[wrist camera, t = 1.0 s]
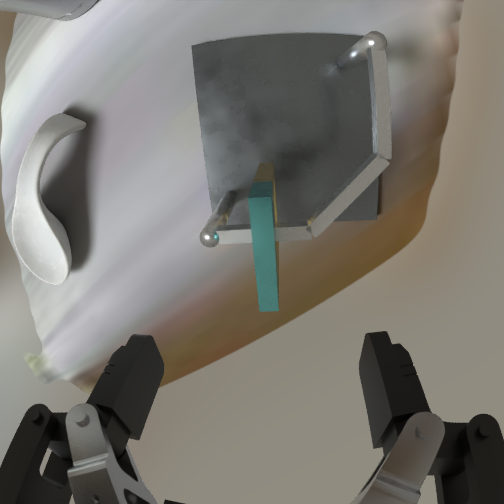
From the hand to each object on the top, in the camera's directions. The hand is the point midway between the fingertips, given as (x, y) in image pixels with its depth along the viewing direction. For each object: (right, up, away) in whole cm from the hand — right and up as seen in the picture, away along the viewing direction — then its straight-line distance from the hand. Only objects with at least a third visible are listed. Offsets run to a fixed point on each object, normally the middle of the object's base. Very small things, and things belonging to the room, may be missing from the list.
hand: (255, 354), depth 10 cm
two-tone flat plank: (+1, +8, +16) cm, 18 cm away
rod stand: (+4, +15, +16) cm, 22 cm away
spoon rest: (-26, +11, +21) cm, 35 cm away
